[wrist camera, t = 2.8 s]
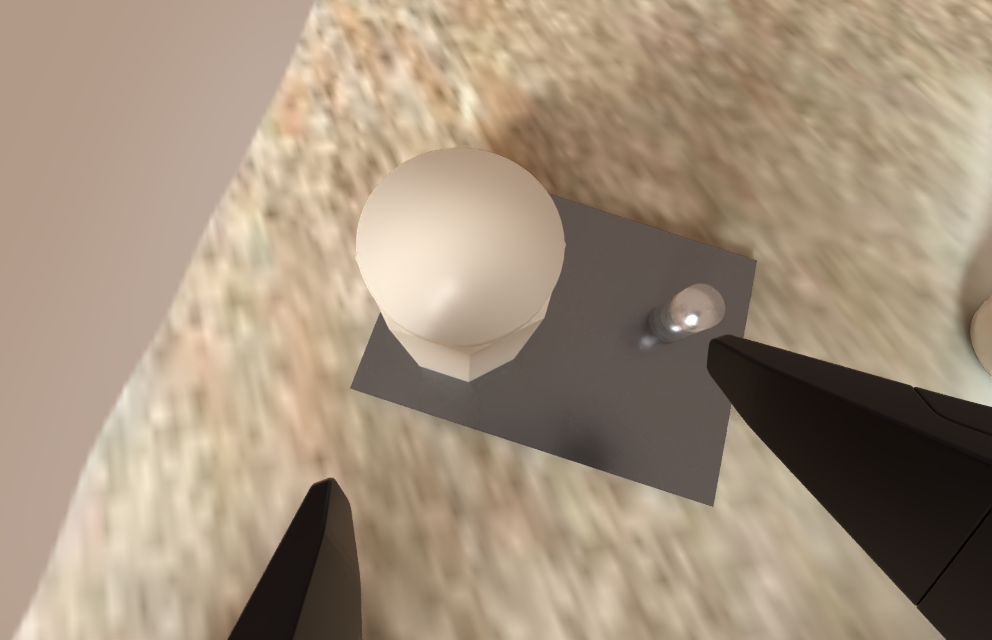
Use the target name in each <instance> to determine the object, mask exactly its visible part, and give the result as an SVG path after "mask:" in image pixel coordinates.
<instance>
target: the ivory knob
mask: <svg viewBox="0 0 992 640" xmlns="http://www.w3.org/2000/svg"><path fill="white" fill-rule="evenodd" d="M565 247H566V243H565V241H564V231H563V226H562V221H561V219H560V216H559V213H558V210H557V208H556V206H555V204H554V202H553V200H552V198H551V197H550V195H549V194H548V192H547V191H546V189H545V188H544V187H543V186H542V185H541V183H540V182H539V181H538V180H537V179H536V178H535V177H534V176H533V175H531V174H530V173H529V172H528V171H527V170H525V169H524V168H523V167H521V166H520V165H518V164H517V163H515V162H513V161H511V160H509V159H507V158H505V157H503V156H500V155H497V154H495V153H492V152H488V151H484V150H479V149H472V148H447V149H440V150H435V151H430V152H427V153H424V154H421V155H418V156H416V157H414V158H412V159H410V160H408V161H406V162H404V163H403V164H401V165H400V166H398V167H396V168H395V169H394V170H393V171H391V172H390V173H389V174H388V175H387V176H385V178H384V179H383V180H382V181H381V182H380V183H379V184H378V185H377V186H376V188H375V189H374V191H373V192H372V193H371V195H370V196H369V198H368V200H367V202H366V204H365V206H364V208H363V211H362V213H361V216H360V219H359V224H358V229H357V237H356V250H357V251H356V253H355V255H354V257H355V259H356V261H357V263H358V265H359V268H360V272H361V274H362V277H363V279H364V282H365V284H366V286H367V287H368V289H369V291H370V293H371V295H372V296H373V297H374V299H375V301H376V303H377V305H378V307H379V309H380V311H381V313H382V315H383V317H384V320H385V322H386V324H387V326H388V328H389V330H390V331H391V332H392V333H393V334H394V336H395V337H396V338H397V339H398V340H399V342H400V343H401V344H402V345H403V347H404V348H405V349H406V350H407V351H408V353H409V354H410V355H411V356H412V357H413V359H414V360H415V361H416V362H417V364H418V365H419V366H420V367H424V368H427V369H430V370H433V371H436V372H439V373H442V374H445V375H448V376H451V377H454V378H457V379H460V380H464V381H467V382H470V381H472V380H474V379H476V378H478V377H480V376H482V375H484V374H486V373H488V372H490V371H491V370H493V369H495V368H497V367H499V366H501V365H503V364H505V363H507V362H509V361H511V360H513V359H514V358H515V357H516V356H517V354H518V353H519V351H520V350H521V349H522V347H523V346H524V345H525V343H526V342H527V341H528V339H529V338H530V337H531V335H532V334H533V333H534V331H535V330H536V328H537V327H538V326H539V324H540V323H541V322H542V320H543V319H544V318H545V314H546V311H547V307H548V304H549V301H550V297H551V294H552V291H553V289H554V287H555V285H556V283H557V281H558V278H559V276H560V273H561V269H562V265H563V260H564V250H565Z"/></svg>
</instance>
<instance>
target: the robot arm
mask: <svg viewBox="0 0 992 640" xmlns="http://www.w3.org/2000/svg"><path fill="white" fill-rule="evenodd" d="M707 370H708V372H709V374H710V376H711V377H712V378H713V380H714V381H715V382H716V384H717V385H718V386H719V388H720V389H721V390H722V392H723V393H724V394H725V396H726V397H727V398H728V400H729V401H730V402H731V404H732V405H733V406H734V408H735V409H736V410H737V412H738V413H739V414H740V415H741V417H742V418H743V419H744V421H745V422H746V423H747V424H748V425H749V427H750V428H751V429H752V430H753V431H754V432H755V433H756V435H757V436H758V437H759V438H760V439H761V440H762V441H763V442H764V443H765V444H766V445H767V446H768V447H769V449H770V450H771V451H772V452H773V453H774V454H775V455H776V456H777V457H778V458H779V459H780V460H781V461H782V463H783V464H784V465H785V466H786V467H787V468H788V469H789V470H790V471H791V472H792V473H793V474H794V476H795V477H796V478H797V479H798V480H799V481H800V482H801V483H802V484H803V485H804V486H805V487H806V488H807V490H808V491H809V492H810V493H811V494H812V495H813V496H814V497H815V498H816V499H817V500H818V501H819V502H820V504H821V505H822V506H823V507H824V508H825V509H826V510H827V511H828V512H829V513H830V514H831V515H832V516H833V518H834V519H835V520H836V521H837V522H838V523H839V524H840V525H841V526H842V527H843V528H844V529H845V531H846V532H847V533H848V534H849V535H850V536H851V537H852V538H853V539H854V540H855V541H856V542H857V543H858V545H859V546H860V547H861V548H862V549H863V550H864V551H865V552H866V553H867V554H868V555H869V556H870V557H871V559H872V560H873V561H874V562H875V563H876V564H877V565H878V566H879V567H880V568H881V569H882V570H883V572H884V573H885V574H886V575H887V576H888V577H889V578H890V579H891V580H892V581H893V582H894V583H895V584H896V586H897V587H898V588H899V589H900V590H901V591H902V592H903V593H904V594H905V595H906V596H907V597H908V598H909V600H910V601H911V602H912V603H913V604H914V605H917V609H918V610H919V611H920V612H921V613H922V614H923V615H924V616H925V617H926V618H927V619H928V620H929V622H930V623H931V624H932V625H933V626H934V627H935V628H936V629H937V630H938V631H939V632H940V633H941V634H942V636H943V637H944V638H945V639H946V640H992V407H990V406H986V405H981V404H977V403H973V402H970V401H966V400H962V399H958V398H955V397H951V396H947V395H943V394H940V393H936V392H933V391H929V390H925V389H922V388H918V387H914V388H913V387H912V386H911V385H907V384H904V383H900V382H897V381H893V380H890V379H886V378H883V377H879V376H875V375H872V374H868V373H865V372H861V371H858V370H854V369H851V368H847V367H844V366H840V365H836V364H833V363H829V362H826V361H822V360H819V359H815V358H812V357H808V356H804V355H801V354H797V353H794V352H790V351H787V350H783V349H780V348H776V347H773V346H769V345H765V344H762V343H758V342H755V341H751V340H748V339H744V338H741V337H737V336H733V335H729V334H725V335H721V336H719V337H716V338H713V339H712V340H711V341H710V342H709V347H708V356H707ZM227 640H362V620H361V583H360V573H359V565H358V557H357V550H356V542H355V535H354V527H353V520H352V513H351V507H350V503H349V501H348V499H347V497H346V496H345V494H344V492H343V491H342V489H341V488H340V486H339V485H338V483H337V482H336V480H335V479H334V478H327V479H324V480H322V481H319V482H316V483H314V484H313V485H312V486H311V487H310V489H309V491H308V493H307V495H306V496H305V498H304V500H303V502H302V504H301V506H300V507H299V509H298V511H297V513H296V515H295V517H294V518H293V520H292V522H291V524H290V526H289V528H288V529H287V531H286V533H285V535H284V537H283V538H282V540H281V542H280V544H279V546H278V548H277V549H276V551H275V553H274V555H273V557H272V559H271V560H270V562H269V564H268V566H267V568H266V570H265V571H264V573H263V575H262V577H261V579H260V581H259V582H258V584H257V586H256V588H255V590H254V592H253V593H252V595H251V597H250V599H249V601H248V603H247V604H246V606H245V608H244V610H243V612H242V614H241V615H240V617H239V619H238V621H237V623H236V625H235V626H234V628H233V630H232V632H231V634H230V635H229V637H228V639H227Z"/></svg>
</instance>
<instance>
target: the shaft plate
mask: <svg viewBox="0 0 992 640" xmlns="http://www.w3.org/2000/svg"><path fill="white" fill-rule="evenodd" d="M549 195H550V197H551V198H552V200H553V202H554V204H555V206H556V208H557V210H558V213H559V216H560V219H561V221H562V226H563V231H564V241H565V243H566V247H565V250H564V260H563V265H562V269H561V273H560V276H559V278H558V281H557V283H556V285H555V287H554V289H553V291H552V294H551V297H550V301H549V304H548V307H547V311H546V314H545V318H544V319H543V320H542V322H541V323H540V324H539V326H538V327H537V328H536V330H535V331H534V333H533V334H532V335H531V337H530V338H529V339H528V341H527V342H526V343H525V345H524V346H523V347H522V349H521V350H520V351H519V353H518V354H517V356H516V357H515V358H514V359H513V360H511V361H509V362H507V363H505V364H503V365H501V366H499V367H497V368H495V369H493V370H491V371H490V372H488V373H486V374H484V375H482V376H480V377H478V378H476V379H474V380H472V381H470V382H467V381H464V380H460V379H457V378H454V377H451V376H448V375H445V374H442V373H439V372H436V371H433V370H430V369H427V368H424V367H420V366H419V365H418V364H417V362H416V361H415V360H414V359H413V357H412V356H411V355H410V354H409V353H408V351H407V350H406V349H405V348H404V347H403V345H402V344H401V343H400V342H399V340H398V339H397V338H396V337H395V336H394V334H393V333H392V332H391V331H390V330H389V328H388V326H387V324H386V322H385V320H384V317H383V315H382V313H381V312H380V314H379V317H378V319H377V322H376V324H375V327H374V329H373V332H372V334H371V337H370V339H369V342H368V344H367V347H366V350H365V352H364V355H363V357H362V360H361V362H360V365H359V367H358V370H357V372H356V375H355V377H354V380H353V382H352V385H351V387H350V388H351V389H354V390H357V391H360V392H363V393H366V394H369V395H372V396H375V397H378V398H381V399H384V400H387V401H390V402H393V403H397V404H400V405H403V406H406V407H409V408H412V409H415V410H418V411H421V412H424V413H427V414H430V415H433V416H436V417H439V418H443V419H446V420H449V421H452V422H455V423H458V424H461V425H464V426H467V427H470V428H473V429H476V430H479V431H482V432H485V433H489V434H492V435H495V436H498V437H501V438H504V439H507V440H510V441H513V442H516V443H519V444H522V445H525V446H528V447H531V448H535V449H538V450H541V451H544V452H547V453H550V454H553V455H556V456H559V457H562V458H565V459H568V460H571V461H574V462H577V463H581V464H584V465H587V466H590V467H593V468H596V469H599V470H602V471H605V472H608V473H611V474H614V475H617V476H620V477H623V478H627V479H630V480H633V481H636V482H639V483H642V484H645V485H648V486H651V487H654V488H657V489H660V490H663V491H666V492H669V493H673V494H676V495H679V496H682V497H685V498H688V499H691V500H694V501H697V502H700V503H703V504H706V505H709V506H712V507H713V505H714V499H715V494H716V488H717V482H718V477H719V471H720V465H721V460H722V454H723V449H724V443H725V437H726V432H727V426H728V420H729V415H730V409H731V402H730V401H729V400H728V398H727V397H726V396H725V394H724V393H723V392H722V390H721V389H720V388H719V386H718V385H717V384H716V382H715V381H714V380H713V378H712V377H711V376H710V374H709V372H708V370H707V356H708V347H709V342H710V341H711V340H712V339H713V338H716V337H719V336H721V335H725V334H729V335H733V336H737V337H741V338H743V336H744V330H745V325H746V319H747V313H748V308H749V302H750V297H751V291H752V285H753V280H754V274H755V268H756V263H757V260H754V259H751V258H747V257H744V256H741V255H738V254H735V253H732V252H729V251H726V250H723V249H719V248H716V247H713V246H710V245H707V244H704V243H701V242H698V241H694V240H691V239H688V238H685V237H682V236H679V235H676V234H673V233H670V232H666V231H663V230H660V229H657V228H654V227H651V226H648V225H645V224H641V223H638V222H635V221H632V220H629V219H626V218H623V217H620V216H617V215H613V214H610V213H607V212H604V211H601V210H598V209H595V208H592V207H588V206H585V205H582V204H579V203H576V202H573V201H570V200H567V199H564V198H560V197H557V196H554V195H551V194H549Z"/></svg>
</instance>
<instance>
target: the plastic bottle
mask: <svg viewBox="0 0 992 640" xmlns="http://www.w3.org/2000/svg"><path fill="white" fill-rule="evenodd" d="M970 332H971V341H972V345H973V348H974V351H975V353H976V355H977V357H978V359H979V361H980V362H981V364H982V366H983V367H984V368H985V370H986V371H987V372H988V373H989V374H990V375H991V376H992V295H991V296H990V297H989V298H988V299H987V300H986V301H985V302H984V303H983V304H982V305H981V306H980V307H979V308H978V310H977V311H976V313H975V314H974V316H973V319H972V322H971V330H970Z"/></svg>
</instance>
